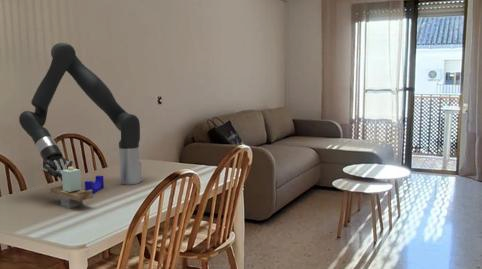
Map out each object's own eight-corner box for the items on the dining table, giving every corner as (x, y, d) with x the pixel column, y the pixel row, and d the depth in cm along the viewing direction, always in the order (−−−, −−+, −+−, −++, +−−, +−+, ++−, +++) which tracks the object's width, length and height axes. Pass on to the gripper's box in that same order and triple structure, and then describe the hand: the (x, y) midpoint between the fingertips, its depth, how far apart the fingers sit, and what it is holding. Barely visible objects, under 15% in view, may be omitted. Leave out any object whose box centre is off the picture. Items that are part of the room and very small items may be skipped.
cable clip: (94, 188, 213) (93, 175, 212) (103, 188, 212) (103, 175, 211) (82, 195, 201) (81, 181, 200) (91, 195, 200) (91, 182, 199)
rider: (74, 187, 188) (72, 165, 186) (81, 189, 185) (80, 166, 183) (63, 190, 184) (61, 167, 182) (70, 192, 181) (68, 169, 179)
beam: (64, 199, 194) (63, 182, 193) (93, 207, 182) (92, 189, 181) (51, 202, 189) (50, 185, 188) (79, 211, 177) (78, 193, 176)
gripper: (36, 146, 184) (55, 180, 178) (66, 142, 194) (85, 174, 189) (30, 158, 188) (49, 191, 182) (60, 153, 198) (78, 185, 193)
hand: (67, 182), depth 186 cm, fingers closed
